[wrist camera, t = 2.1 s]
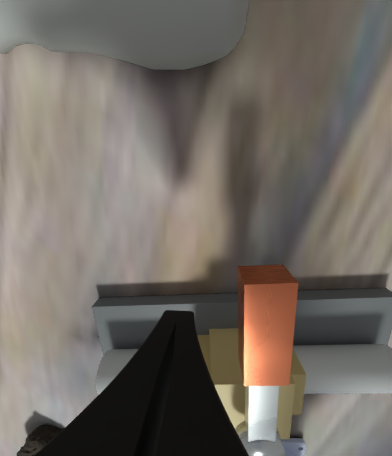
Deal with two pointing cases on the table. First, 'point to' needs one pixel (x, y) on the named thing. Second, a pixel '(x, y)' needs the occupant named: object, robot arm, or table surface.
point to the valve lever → (264, 351)
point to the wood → (38, 440)
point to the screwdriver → (128, 29)
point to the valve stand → (301, 353)
